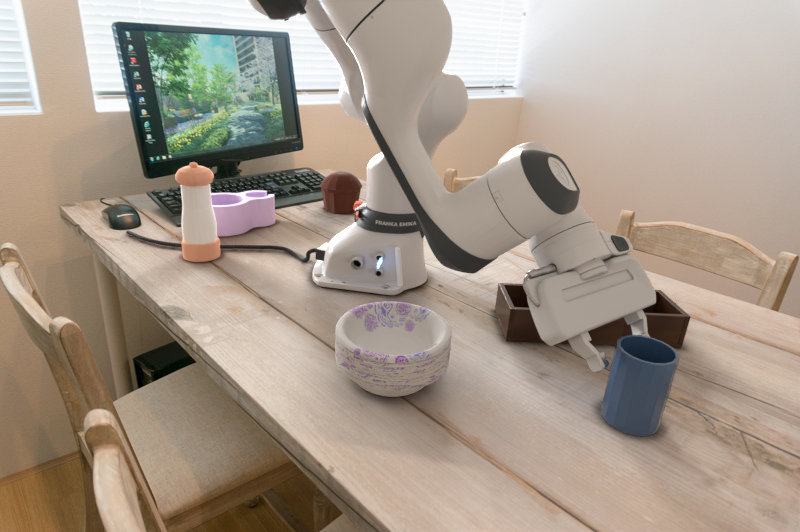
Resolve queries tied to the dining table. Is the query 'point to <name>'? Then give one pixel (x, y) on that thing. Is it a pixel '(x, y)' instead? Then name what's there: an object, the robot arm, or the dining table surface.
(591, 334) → the cup rack
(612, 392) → the cup
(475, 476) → the dining table surface
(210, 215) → the pepper shaker
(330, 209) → the muffin
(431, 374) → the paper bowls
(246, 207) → the purple desk organizer
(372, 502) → the dining table surface
